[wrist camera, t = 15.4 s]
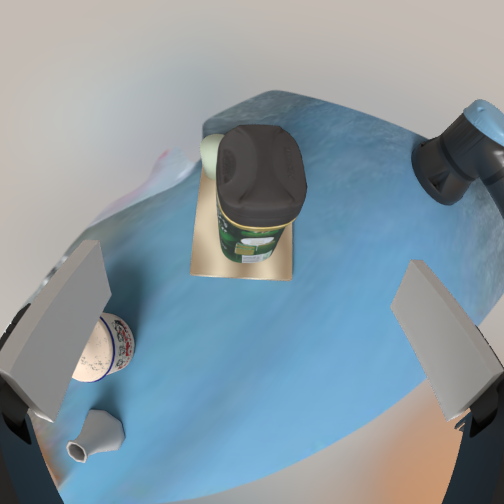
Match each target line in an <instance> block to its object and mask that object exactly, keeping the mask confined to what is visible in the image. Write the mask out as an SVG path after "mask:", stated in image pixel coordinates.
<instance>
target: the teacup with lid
mask: <svg viewBox="0 0 504 504" xmlns="http://www.w3.org/2000/svg"><path fill="white" fill-rule="evenodd" d="M134 347H135V345H134V338H133V334H132V332H131V330H130V328H129V326H128V325H127V324H126V323H125V322H124V321H123V320H122V319H121V318H120V317H118V316H116V315H114V314H110V313H104V310H103V312H102V314H101V316H100V318H99V320H98V322H97V324H96V326H95V328H94V330H93V332H92V334H91V336H90V338H89V340H88V342H87V344H86V346H85V348H84V351H83V353H82V355H81V357H80V360H79V362H78V364H77V366H76V369H75V371H74V373H73V376H72V377H73V378H74V379H76V380H79V381H82V382H96V381H99V380H101V379H102V378H104V377H105V376H106V375H109V374H111V373H114V372H116V371H119V370H121V369H123V368H124V367H126V366H127V365H128V364H129V362H130V361H131V359H132V357H133V354H134Z"/></svg>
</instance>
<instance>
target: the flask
mask: <svg viewBox="0 0 504 504" xmlns="http://www.w3.org/2000/svg"><path fill="white" fill-rule="evenodd" d="M124 440H125V435H124V432H123V428H122V424H121V422H120V421H119V420H118V419H116V418H115V417H113V416H112V415H111V414H109V413H108V412H106V411H102V410H91V409H90V410H89V413H88V415H87V417H86V419H85V421H84V424H83V427H82V430H81V433H80V434H79V436H78V437H77V438H76V439H75V440H74V441H72V440H69V441H68V443H67V446H66V448H67V451H68V454H69V455H70V456H71V457H72V458H73V459H75V460H76V461H78V462H83V463H85V462H86V460H87V458H88V456H89V455H92V454H94V453H97V452H104V451H113V450H119V448H120V447H121V445H122V443H123V441H124Z"/></svg>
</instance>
